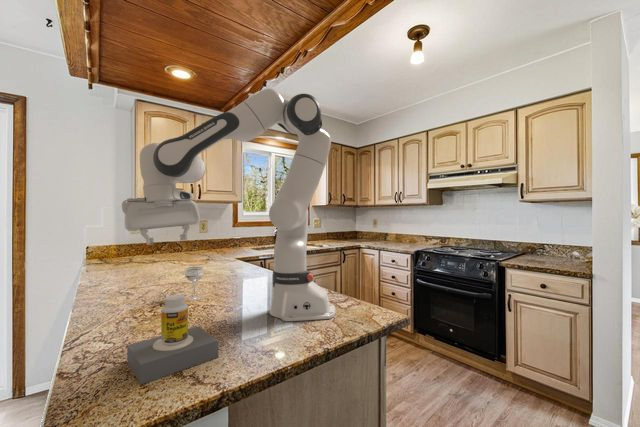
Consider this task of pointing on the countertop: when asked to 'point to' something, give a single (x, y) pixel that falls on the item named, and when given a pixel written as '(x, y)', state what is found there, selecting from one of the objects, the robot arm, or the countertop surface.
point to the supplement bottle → (174, 320)
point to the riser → (170, 355)
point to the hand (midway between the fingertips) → (167, 242)
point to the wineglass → (194, 278)
